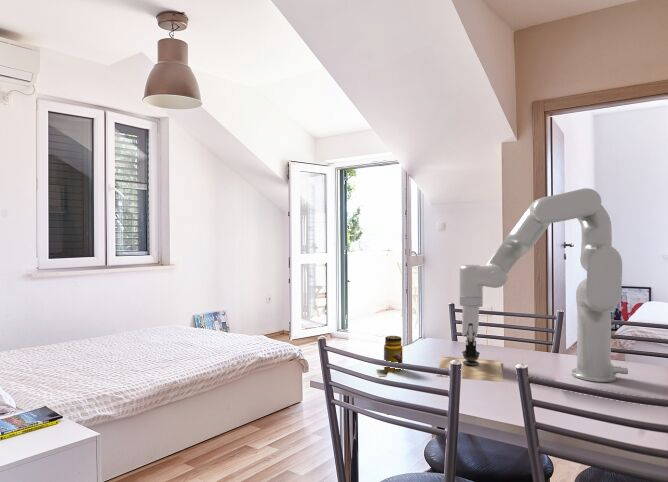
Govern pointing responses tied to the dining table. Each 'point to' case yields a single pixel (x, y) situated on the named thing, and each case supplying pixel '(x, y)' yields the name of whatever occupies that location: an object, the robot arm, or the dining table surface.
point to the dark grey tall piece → (470, 359)
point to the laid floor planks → (480, 375)
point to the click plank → (482, 366)
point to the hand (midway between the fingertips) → (470, 354)
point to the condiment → (391, 354)
